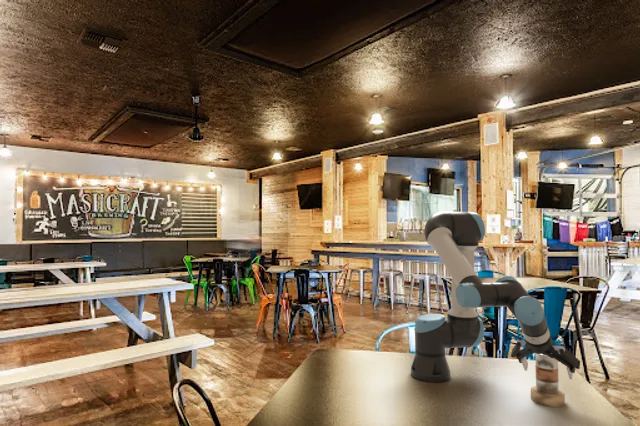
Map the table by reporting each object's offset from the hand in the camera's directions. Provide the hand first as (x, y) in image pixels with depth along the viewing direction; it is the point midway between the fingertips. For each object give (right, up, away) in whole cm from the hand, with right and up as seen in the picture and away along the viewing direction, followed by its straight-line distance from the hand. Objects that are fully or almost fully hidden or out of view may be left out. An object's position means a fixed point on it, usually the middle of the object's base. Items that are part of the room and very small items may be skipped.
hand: (548, 371), depth 141 cm
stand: (-1, -9, -2) cm, 9 cm away
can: (-1, -6, -2) cm, 6 cm away
